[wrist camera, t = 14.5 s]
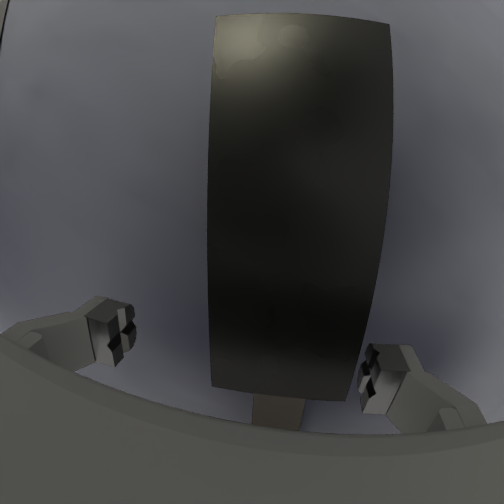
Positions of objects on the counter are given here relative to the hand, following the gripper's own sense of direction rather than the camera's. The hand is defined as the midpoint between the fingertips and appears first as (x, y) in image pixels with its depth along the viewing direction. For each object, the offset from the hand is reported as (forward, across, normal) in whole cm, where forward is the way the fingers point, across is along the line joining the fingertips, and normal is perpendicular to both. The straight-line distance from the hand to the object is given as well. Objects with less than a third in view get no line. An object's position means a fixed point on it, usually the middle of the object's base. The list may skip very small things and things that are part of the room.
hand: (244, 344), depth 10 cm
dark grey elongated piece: (+5, -2, +3) cm, 6 cm away
